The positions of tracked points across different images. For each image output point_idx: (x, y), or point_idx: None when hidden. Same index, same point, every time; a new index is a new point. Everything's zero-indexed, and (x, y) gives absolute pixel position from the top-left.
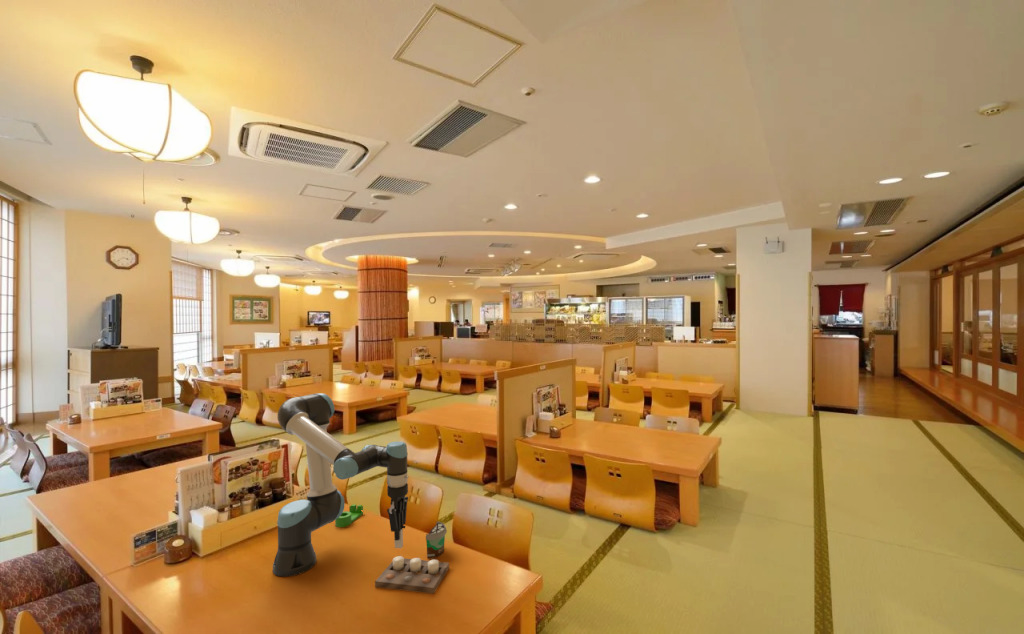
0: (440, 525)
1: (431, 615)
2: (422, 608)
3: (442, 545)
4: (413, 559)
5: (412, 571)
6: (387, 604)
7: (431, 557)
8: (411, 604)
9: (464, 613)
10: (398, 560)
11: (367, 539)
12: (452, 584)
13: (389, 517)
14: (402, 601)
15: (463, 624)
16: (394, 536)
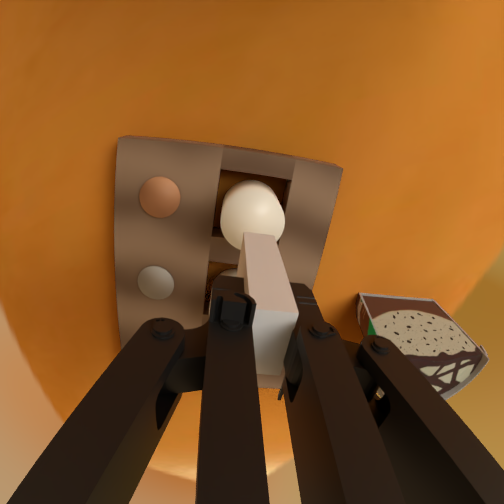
0: (462, 375)
1: (50, 360)
2: (62, 338)
3: None
4: None
5: (212, 286)
6: (43, 232)
7: (356, 309)
8: (65, 307)
9: None
10: (235, 229)
11: (499, 15)
12: (185, 394)
13: (20, 495)
14: (68, 277)
15: (57, 410)
16: (247, 273)
